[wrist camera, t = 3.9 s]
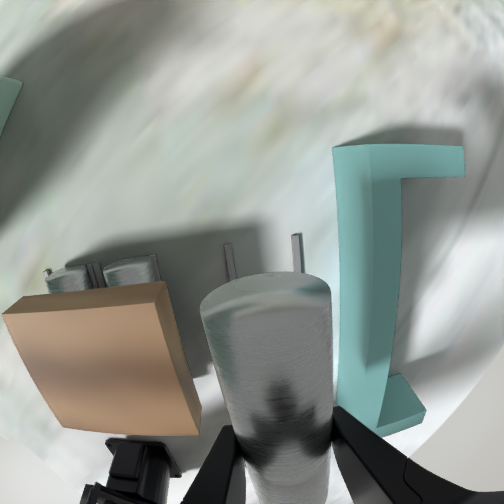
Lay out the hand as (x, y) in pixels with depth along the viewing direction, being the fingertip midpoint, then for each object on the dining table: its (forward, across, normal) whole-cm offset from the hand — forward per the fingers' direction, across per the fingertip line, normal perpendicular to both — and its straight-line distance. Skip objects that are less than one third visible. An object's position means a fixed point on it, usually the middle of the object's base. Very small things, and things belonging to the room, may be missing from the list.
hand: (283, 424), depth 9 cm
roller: (+1, 0, 0) cm, 1 cm away
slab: (+7, +10, +1) cm, 12 cm away
